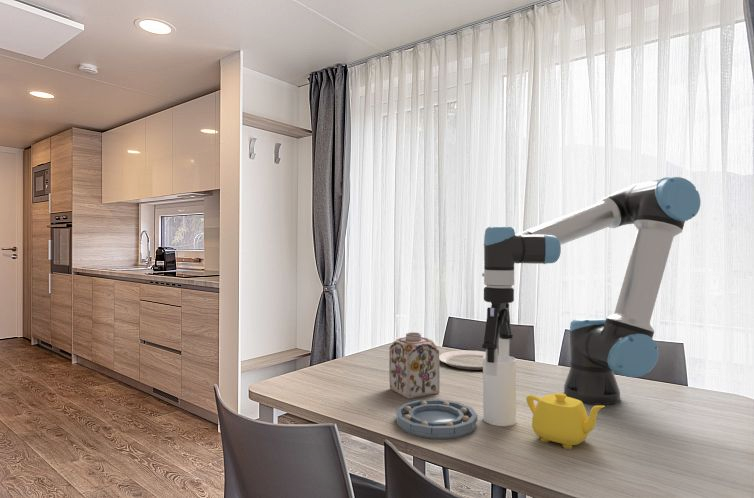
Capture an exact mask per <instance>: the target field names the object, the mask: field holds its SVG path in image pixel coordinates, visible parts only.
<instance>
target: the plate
mask: <svg viewBox="0 0 754 498" xmlns="http://www.w3.org/2000/svg"><path fill="white" fill-rule="evenodd" d="M464 356H470V357H471V358H472V357H473V358H482V359H483V357H484V356H486V351H481V350H468V349H467V350H464V349H463V350H453V351H452V350H451V351H447V352H442V353H441V354H439V362H442V363H445V364H446V365H448V366H450V367H453V368H457V369H462V370H478V371H479V370H483V366H469V365H459V364H452V363H449V362H447V361H448V360H450V358H451V359H454V357H455V358H462V357H463V358H465V357H464Z"/></svg>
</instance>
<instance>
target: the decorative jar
mask: <svg viewBox="0 0 754 498" xmlns="http://www.w3.org/2000/svg"><path fill="white" fill-rule="evenodd" d="M439 355H440V350H439V348H438V347H437V345H436V344H435V342H434V341H433V339H429V338H427V337H423V336H422V333H420V332H406V334H405V337H399V338H397V339H395V340H394V341H393V342H392V343H391V345H390V347H389V363H388V368H389V370H388V371H389V373H388V374H389V377H388V378H389V389H390V390H392V391H393V392H395V393H397V394H398V395H401V396H402V397H404V398H406V399H407V400H411V399H416V398H419V397H421V398H422V397H426V396H431V395H436V394H440V388H441V387H440V384H441V383H440V382H441V381H440V380H441V379H440V377H441V376H440V370H441V368H440V360H439Z"/></svg>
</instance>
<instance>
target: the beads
mask: <svg viewBox="0 0 754 498" xmlns="http://www.w3.org/2000/svg"><path fill="white" fill-rule="evenodd" d="M424 404H427V402H426V401H422V402H421V405H424ZM443 405H448V406H450V404H449V402H444V403H443ZM410 410H411V407H410V406H406V407H405V412H406V413H409V411H410ZM460 410H461V411H462V413H463V414H464V415H465V414H466V413H467V409H466V408H464V407H462V408H461V409H460ZM404 418H406V419H408V420H411V416H410V415H409V414H406V415H405V416H404ZM468 420H469V417H468V416H463V418H462V421H463V422H467V421H468ZM421 424H423V425H428V423H427V422H426V421H423V422H422V423H421ZM446 426H453V423H452V422H447V423H446Z"/></svg>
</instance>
